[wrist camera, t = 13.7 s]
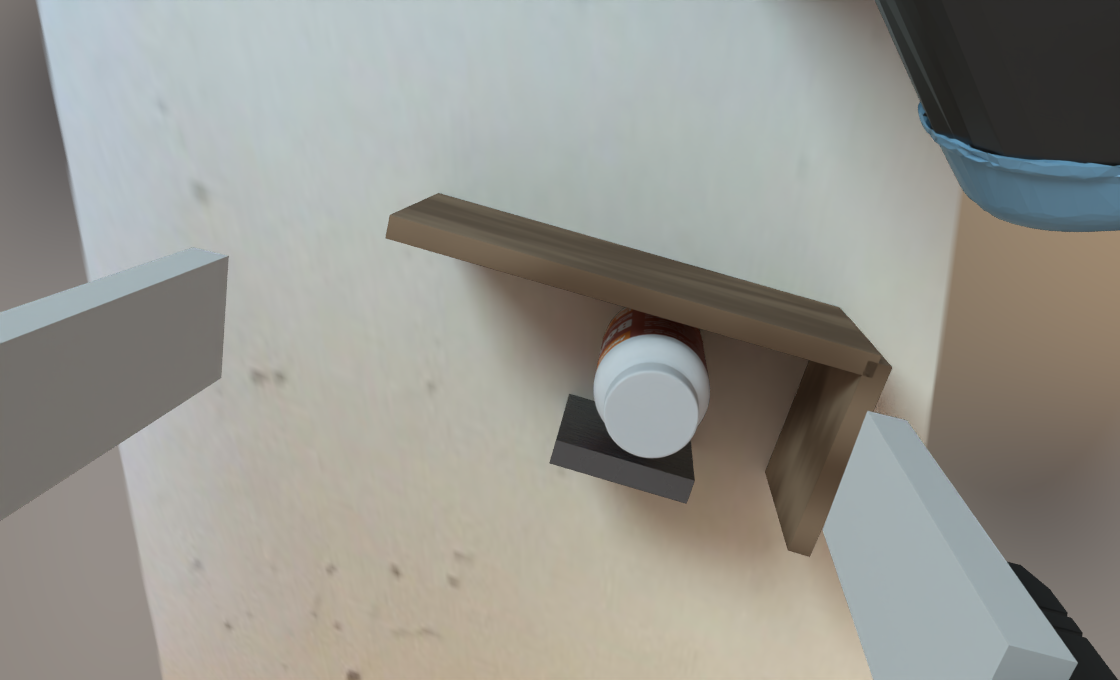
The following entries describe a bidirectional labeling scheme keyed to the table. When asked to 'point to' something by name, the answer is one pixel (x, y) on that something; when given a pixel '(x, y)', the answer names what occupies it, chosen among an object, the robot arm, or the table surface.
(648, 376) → the pill bottle
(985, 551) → the robot arm
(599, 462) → the dark rectangular block
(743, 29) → the table surface
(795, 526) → the wooden corner wall
